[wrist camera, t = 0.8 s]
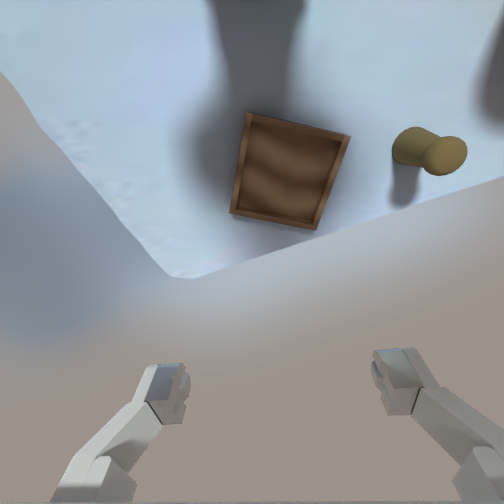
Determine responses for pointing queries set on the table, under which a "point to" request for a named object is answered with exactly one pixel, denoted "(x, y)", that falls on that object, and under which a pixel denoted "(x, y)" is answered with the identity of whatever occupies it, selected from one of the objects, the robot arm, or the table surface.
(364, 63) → the table surface
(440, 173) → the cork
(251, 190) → the walnut tray
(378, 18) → the table surface
